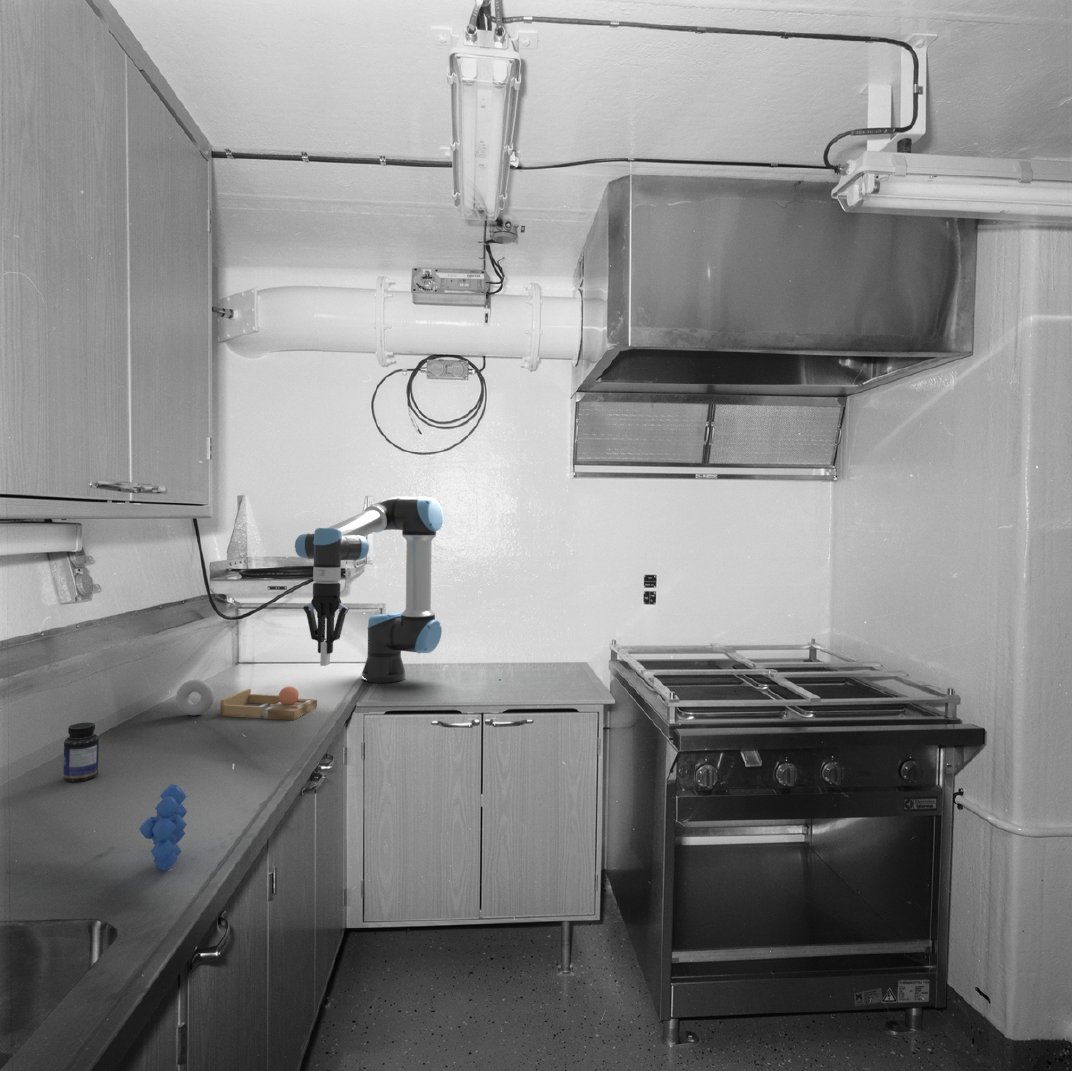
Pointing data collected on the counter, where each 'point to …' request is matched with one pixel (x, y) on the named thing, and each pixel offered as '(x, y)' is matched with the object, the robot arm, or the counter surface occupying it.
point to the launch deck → (290, 709)
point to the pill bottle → (81, 753)
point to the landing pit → (247, 704)
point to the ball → (288, 696)
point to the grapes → (166, 827)
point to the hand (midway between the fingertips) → (325, 664)
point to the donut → (185, 702)
